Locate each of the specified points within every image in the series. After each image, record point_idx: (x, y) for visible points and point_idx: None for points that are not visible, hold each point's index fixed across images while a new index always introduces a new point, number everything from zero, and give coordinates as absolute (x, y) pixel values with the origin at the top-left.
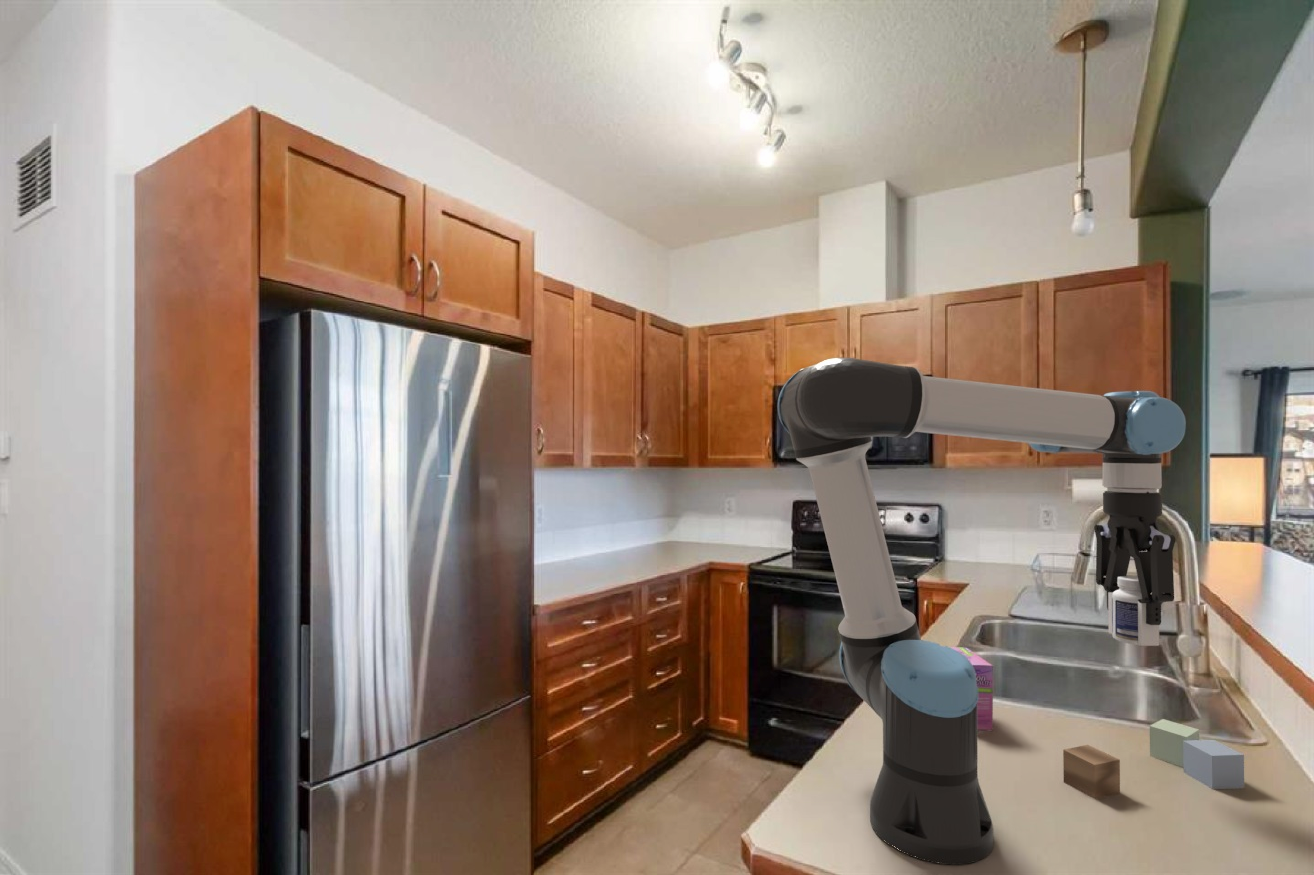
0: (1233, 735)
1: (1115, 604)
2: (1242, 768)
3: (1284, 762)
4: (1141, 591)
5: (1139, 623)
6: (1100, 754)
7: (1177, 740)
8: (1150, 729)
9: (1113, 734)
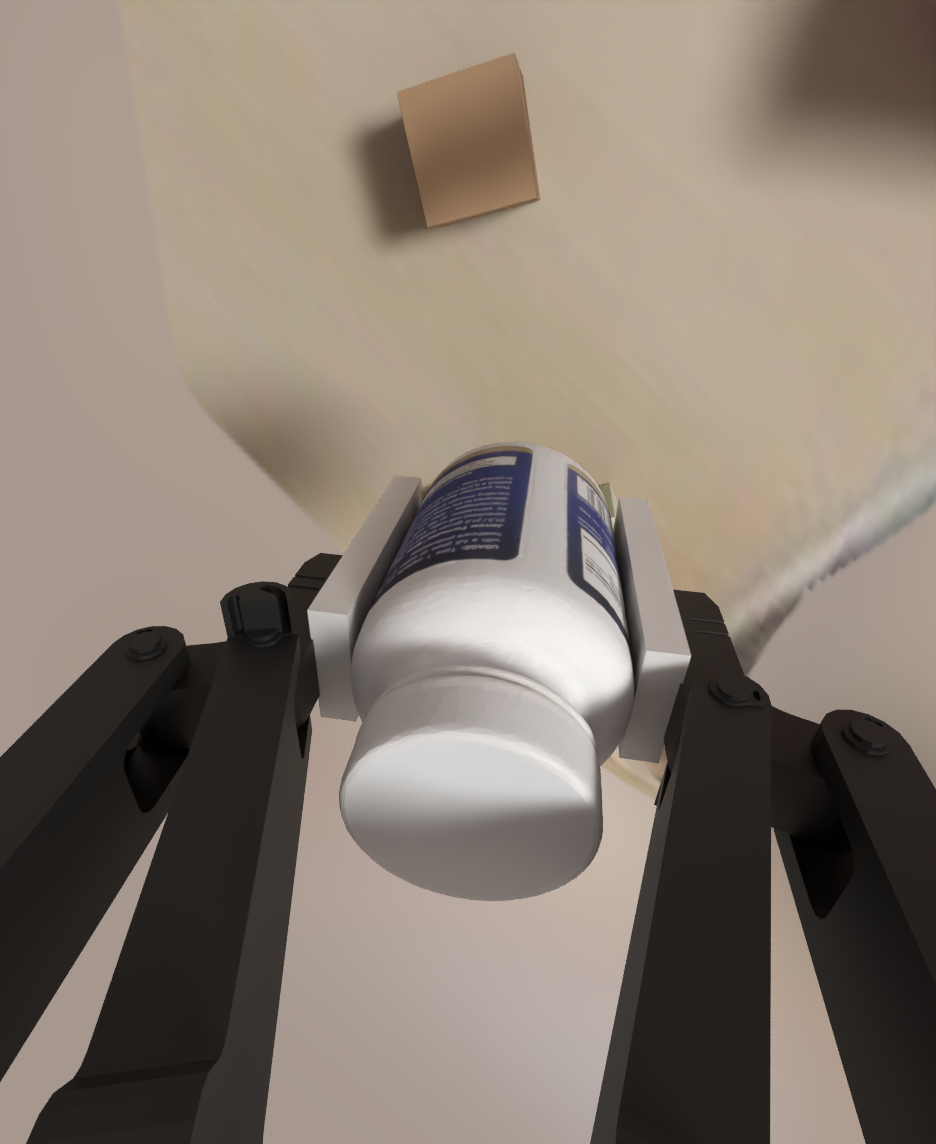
0: None
1: (516, 539)
2: None
3: None
4: (285, 679)
5: (381, 532)
6: (465, 185)
7: None
8: (612, 512)
9: (740, 493)
